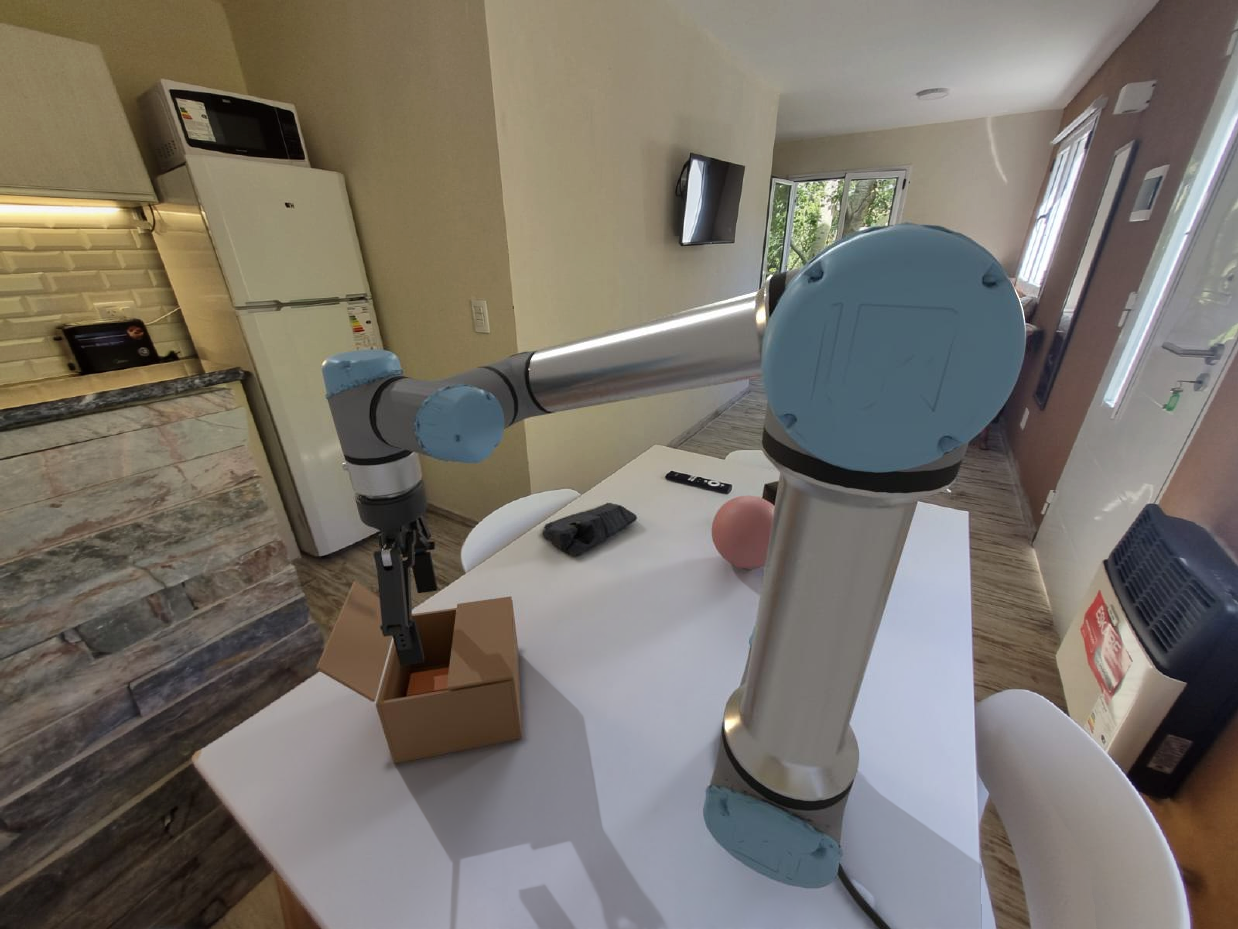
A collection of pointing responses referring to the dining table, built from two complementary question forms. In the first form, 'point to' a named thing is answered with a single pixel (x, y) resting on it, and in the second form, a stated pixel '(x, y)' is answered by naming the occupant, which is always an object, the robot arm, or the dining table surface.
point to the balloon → (743, 531)
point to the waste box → (456, 683)
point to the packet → (428, 681)
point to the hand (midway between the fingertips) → (420, 623)
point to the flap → (357, 644)
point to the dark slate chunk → (588, 527)
